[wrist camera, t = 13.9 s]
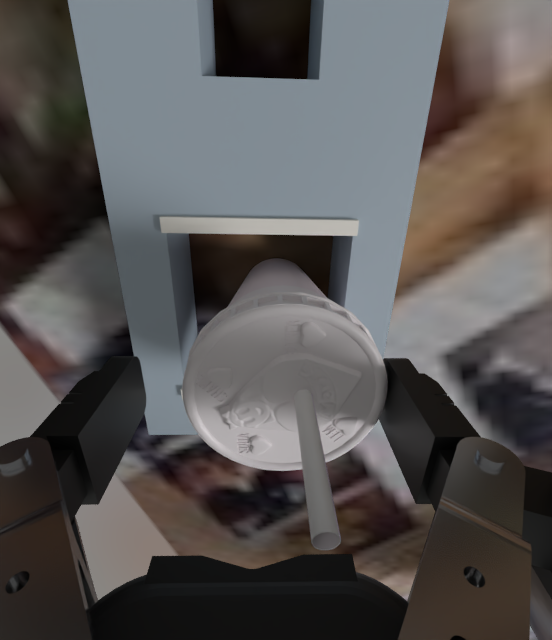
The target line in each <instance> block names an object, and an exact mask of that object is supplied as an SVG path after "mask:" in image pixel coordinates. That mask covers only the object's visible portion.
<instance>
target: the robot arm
mask: <svg viewBox="0 0 552 640" xmlns="http://www.w3.org/2000/svg"><path fill="white" fill-rule="evenodd" d="M383 362H384V364H385V368H386V373H387V381H388V383H387V396H386V401H385V405H384V408H383V410H382V413H381V415H380V417H379V420H380V423H381V425H382V427H383V430H384V432H385V434H386V436H387V439H388V441H389V443H390V446H391V448H392V450H393V452H394V455H395V457H396V459H397V462H398V464H399V466H400V468H401V471H402V473H403V475H404V478H405V480H406V482H407V485H408V487H409V489H410V491H411V494H412V496H413V498H414V501H415V503H416V504H432V505H433V508H434V510H435V515H434V518H433V521H432V524H431V528H430V531H429V534H428V537H427V540H426V543H425V547H424V550H423V553H422V556H421V559H420V563H419V566H418V569H417V572H416V575H415V579H414V582H413V585H412V588H411V591H410V594H409V597H408V600H407V601H406V600H405V599H404V598H402V597H401V596H400V595H399V594H397V593H396V592H395V591H393V590H392V589H390V588H389V587H388V586H386V585H384V584H382V583H381V582H379V581H377V580H375V579H373V578H371V577H368V576H366V575H364V574H360V573H357V572H356V571H355V566H354V561H353V557H352V554H321V555H301V556H297V557H294V558H291V559H288V560H284V561H281V562H278V563H274V564H271V565H268V566H264V567H261V568H258V569H247V568H243V567H240V566H236V565H233V564H229V563H226V562H222V561H219V560H215V559H212V558H208V557H205V556H152V559H151V563H150V566H149V569H148V573H147V575H144V576H141V577H139V578H136V579H134V580H132V581H129V582H127V583H125V584H123V585H122V586H120V587H118V588H116V589H114V590H113V591H111V592H110V593H109V594H107V595H105V596H104V597H102V598H101V599H100V600H98V598H97V595H96V592H95V589H94V585H93V581H92V578H91V574H90V571H89V566H88V562H87V559H86V555H85V551H84V547H83V544H82V540H81V536H80V532H79V528H78V524H77V521H76V518H75V515H76V513H77V511H78V509H79V507H80V506H81V505H82V504H99V502H100V500H101V498H102V496H103V494H104V492H105V490H106V488H107V486H108V484H109V482H110V481H111V479H112V476H113V475H114V473H115V471H116V469H117V467H118V465H119V463H120V461H121V459H122V457H123V455H124V453H125V451H126V449H127V447H128V445H129V443H130V441H131V439H132V437H133V435H134V433H135V431H136V429H137V427H138V425H139V423H140V421H141V419H142V417H143V415H144V412H145V408H146V392H145V386H144V380H143V375H142V369H141V363H140V360H139V358H138V357H137V356H112V357H111V358H110V359H109V360H108V361H107V363H106V364H105V365H104V366H103V367H102V369H101V370H100V371H94V372H93V373H91V374H89V375H88V376H86V377H85V378H83V379H82V380H80V381H79V382H78V383H77V384H76V385H75V386H74V387H73V389H72V390H71V391H70V392H69V394H67V395H66V397H65V398H64V399H63V400H62V401H61V404H59V405H58V406H57V407H56V408H55V409H54V410H53V411H52V412H51V414H50V415H49V416H48V417H47V418H46V419H45V420H44V422H43V423H42V424H41V425H40V426H39V427H38V428H37V429H36V431H35V432H34V433H33V434H32V435H31V436H30V437H28V438H22V439H18V440H15V441H12V442H9V443H7V444H5V445H3V446H1V447H0V640H529V633H530V626H531V628H532V630H533V632H534V633H535V635H536V637H537V639H538V640H552V473H551V472H547V471H543V470H539V469H534V468H530V467H526V466H524V465H523V464H522V462H521V461H520V459H519V458H518V457H517V456H516V455H515V454H514V453H513V452H511V451H510V450H509V449H507V448H506V447H504V446H503V445H501V444H499V443H497V442H494V441H492V440H489V439H486V438H481V437H480V436H479V434H478V433H477V432H476V430H475V429H474V428H473V427H472V425H471V424H470V423H469V422H468V420H467V419H466V418H465V416H464V415H463V414H462V413H461V411H460V410H459V409H458V407H457V406H454V402H453V401H452V400H451V399H450V397H449V396H447V393H446V392H445V391H444V390H443V388H442V387H441V386H440V384H439V383H438V382H436V381H435V380H433V379H432V378H430V377H429V376H427V375H426V374H419V373H418V371H417V370H416V368H415V367H414V366H413V364H412V363H411V362H410V360H409V359H407V358H385V359H383Z"/></svg>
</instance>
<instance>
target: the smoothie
mask: <svg viewBox="0 0 552 640" xmlns="http://www.w3.org/2000/svg"><path fill="white" fill-rule="evenodd" d="M387 383H388V381H387V373H386V368H385V364H384V362H383V359H382V356H381V354H380V353H379V351H378V348H377V346H376V344H375V342H374V340H373V338H372V336H371V334H370V332H369V330H368V329H367V328H366V327H365V326H364V325H363V324H362V323H361V322H360V320H359V319H358V318H357V317H356V316H355V315H354V314H353V313H352V312H351V311H349V310H347V309H345V308H344V307H342V306H340V305H338V304H337V303H335V302H333V301H332V300H330V299H328V298H327V297H326V296H325V295H324V294H323V293H322V292H321V291H320V289H319V288H318V287H317V286H316V285H315V284H314V283H313V282H312V280H311V279H310V278H309V277H308V276H307V275H306V274H305V273H304V272H303V270H302V269H301V268H300V267H299V266H298V265H296V264H295V263H293V262H291V261H289V260H286V259H281V258H273V259H267V260H264V261H262V262H260V263H258V264H257V265H256V266H254V267H253V268H252V269H251V271H250V272H249V273H248V275H247V277H246V278H245V280H244V281H243V283H242V285H241V286H240V288H239V289H238V291H237V292H236V294H235V296H234V297H233V299H232V300H231V302H230V304H229V305H228V307H227V308H225V309H224V310H222V311H220V312H219V313H218V314H217V315H216V316H215V317H214V318H213V319H212V320H211V321H210V322H209V323H208V324H207V325H205V326H204V327H203V328H202V330H201V331H200V333H199V335H198V337H197V338H196V340H195V342H194V344H193V345H192V347H191V349H190V352H189V357H188V361H187V366H186V369H185V372H184V377H183V385H182V395H183V403H184V407H185V411H186V414H187V416H188V418H189V421H190V423H191V424H192V426H193V428H194V429H195V431H196V432H197V433H198V435H199V436H200V437H201V438H202V439H203V440H204V441H205V442H206V443H207V444H208V445H209V446H210V447H212V448H213V449H214V450H215V451H217V452H218V453H220V454H222V455H223V456H225V457H227V458H229V459H231V460H232V461H235V462H238V463H240V464H243V465H246V466H249V467H254V468H258V469H263V470H275V471H289V470H301V469H303V477H304V485H305V493H306V501H307V510H308V518H309V526H310V535H311V543H312V545H313V547H315V548H316V549H319V550H331V549H334V548H336V547H337V546H338V545H339V544H340V543H341V536H340V531H339V526H338V521H337V516H336V511H335V506H334V501H333V496H332V491H331V486H330V481H329V476H328V471H327V466H326V462H329V461H331V460H334V459H335V458H337V457H339V456H341V455H343V454H344V453H346V452H348V451H349V450H351V449H352V448H353V447H355V446H356V445H357V444H358V443H359V442H361V441H362V440H363V439H364V438H365V437H366V436H367V434H368V433H369V432H370V431H371V430H372V428H373V427H374V425H375V424H376V422H377V421H378V419H379V417H380V415H381V413H382V410H383V408H384V405H385V401H386V396H387Z"/></svg>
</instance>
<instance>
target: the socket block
mask: <svg viewBox="0 0 552 640" xmlns="http://www.w3.org/2000/svg"><path fill="white" fill-rule="evenodd" d="M448 4H449V0H311V15H310V35H309V55H308V75H307V79H279V78H248V77H216V63H215V41H214V19H213V0H68V5H69V10H70V16H71V21H72V27H73V32H74V37H75V43H76V48H77V53H78V59H79V64H80V69H81V75H82V80H83V85H84V91H85V96H86V101H87V107H88V112H89V118H90V123H91V128H92V134H93V139H94V144H95V150H96V155H97V160H98V166H99V171H100V176H101V182H102V187H103V192H104V198H105V203H106V209H107V214H108V219H109V225H110V230H111V235H112V241H113V246H114V251H115V257H116V262H117V267H118V273H119V278H120V283H121V289H122V294H123V299H124V305H125V310H126V316H127V321H128V326H129V332H130V337H131V342H132V348H133V353H134V356H137V357H138V358H139V360H140V363H141V369H142V375H143V380H144V386H145V392H146V408H145V417H146V423H147V428H148V433H149V435H198V433H197V432H196V431H195V429H194V428H193V426H192V424H191V423H190V421H189V418H188V416H187V414H186V411H185V407H184V403H183V395H182V385H183V377H184V372H185V369H186V366H187V361H188V357H189V352H190V349H191V347H192V345H193V344H194V342H195V340H196V338H197V337H198V332H197V321H196V310H195V299H194V287H193V276H192V265H191V254H190V243H189V233H200V234H264V235H328V236H333V245H332V255H331V266H330V277H329V288H328V299H330V300H332V301H333V302H335V303H337V304H338V305H340V306H342V307H344V308H345V309H347V310H349V311H351V312H352V313H353V314H354V315H355V316H356V317H357V318H358V319H359V320H360V322H361V323H362V324H363V325H364V326H365V327H366V328H367V329H368V330H369V332H370V334H371V336H372V338H373V340H374V342H375V344H376V346H377V348H378V351H379V353H380V354H381V356H382V359H383V357H384V351H385V346H386V340H387V335H388V330H389V324H390V319H391V313H392V308H393V303H394V297H395V292H396V286H397V281H398V275H399V270H400V265H401V259H402V254H403V248H404V243H405V238H406V232H407V227H408V221H409V216H410V210H411V205H412V200H413V194H414V189H415V183H416V178H417V172H418V167H419V162H420V156H421V151H422V145H423V140H424V135H425V129H426V124H427V118H428V113H429V107H430V102H431V97H432V91H433V86H434V80H435V75H436V69H437V64H438V59H439V53H440V48H441V42H442V37H443V32H444V26H445V21H446V15H447V10H448ZM369 433H370V432H369ZM369 433H368V434H369Z"/></svg>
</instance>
